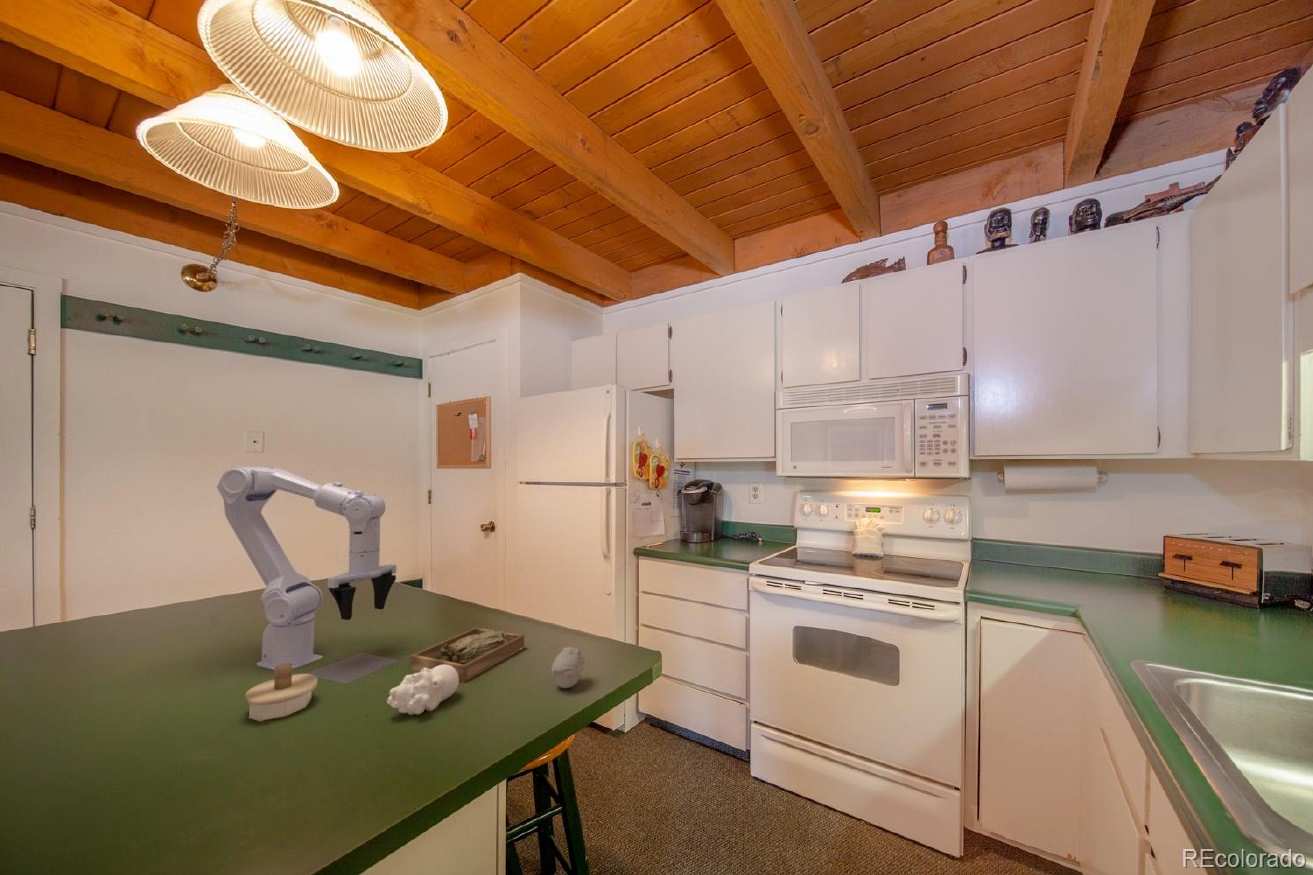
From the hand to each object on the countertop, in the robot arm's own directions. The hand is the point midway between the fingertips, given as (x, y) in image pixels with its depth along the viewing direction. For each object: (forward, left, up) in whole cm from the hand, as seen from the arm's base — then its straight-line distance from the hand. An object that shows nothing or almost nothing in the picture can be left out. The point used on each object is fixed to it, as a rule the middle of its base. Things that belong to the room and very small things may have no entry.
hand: (363, 613), depth 104 cm
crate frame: (+21, +10, -10) cm, 25 cm away
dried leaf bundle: (+22, +10, -11) cm, 26 cm away
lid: (+6, -19, -7) cm, 21 cm away
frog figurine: (+48, +7, -10) cm, 49 cm away
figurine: (+29, -9, -11) cm, 32 cm away
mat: (+2, -3, -10) cm, 11 cm away
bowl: (+6, -19, -10) cm, 22 cm away
